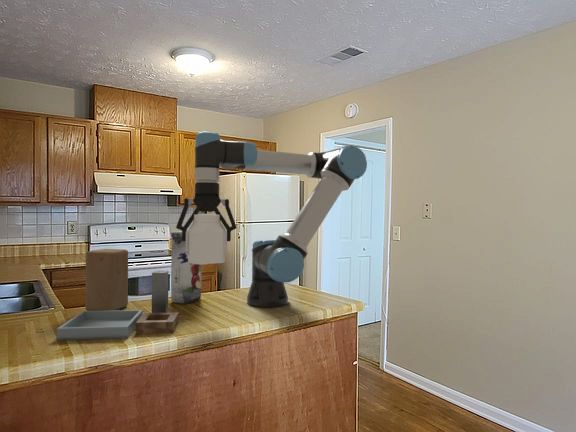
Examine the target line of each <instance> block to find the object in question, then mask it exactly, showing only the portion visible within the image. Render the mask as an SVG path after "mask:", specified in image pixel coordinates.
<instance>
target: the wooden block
mask: <svg viewBox="0 0 576 432" xmlns="http://www.w3.org/2000/svg"><path fill="white" fill-rule="evenodd" d="M128 304H129V251H128V250H127V249H121V248H119V249H118V248H100V249H94V250H89V251H86V252H85V307H84V308H85V311H113V310H120V309H121V310H122V309H123V308H125V307H127V306H128Z"/></svg>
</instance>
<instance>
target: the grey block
mask: <svg viewBox="0 0 576 432" xmlns="http://www.w3.org/2000/svg"><path fill="white" fill-rule="evenodd" d="M151 313H169V270H153V271H152V272H151Z"/></svg>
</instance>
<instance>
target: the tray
mask: <svg viewBox="0 0 576 432" xmlns="http://www.w3.org/2000/svg"><path fill="white" fill-rule="evenodd" d="M143 310H144V309H130V310H129V309H128V310H127V309H121V310H120V309H118V310H113V311H87V310H83V311H80V312H79V313H78V314H77V315H74V316H73V317H72V318H70V319H69V320H67V321H66V322H65V323H63V324H61V325H60V326H59V327H57V328H56V340H57V341H66V340H67V341H69V340H71V341H73V340H76V341H78V340H102V339H103V340H107V339H108V340H110V339H128V338H129V337H130V336H131V334H132V333H133V332H134V331H136V322H137V321H138V320H139V318H140V317H141V316H142V315H143V314H144V311H143Z"/></svg>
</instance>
